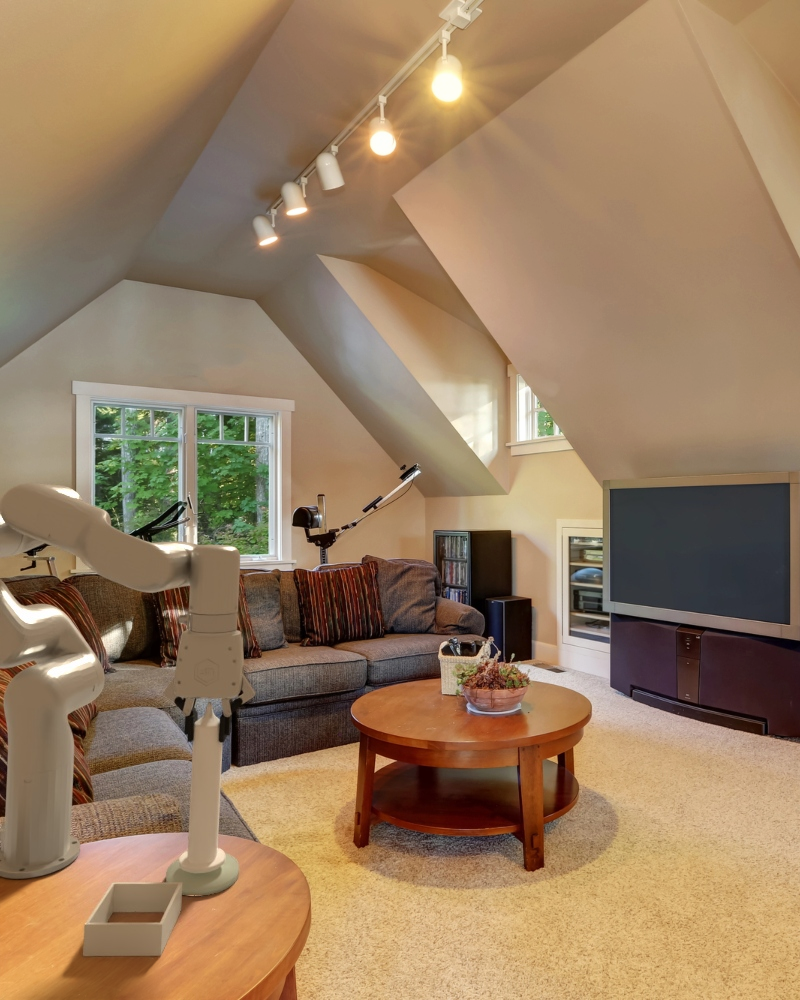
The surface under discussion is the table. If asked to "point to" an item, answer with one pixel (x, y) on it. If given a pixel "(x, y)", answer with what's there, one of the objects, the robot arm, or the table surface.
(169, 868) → the pale green dome
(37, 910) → the table surface
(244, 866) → the table surface
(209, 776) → the candle
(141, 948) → the tray
